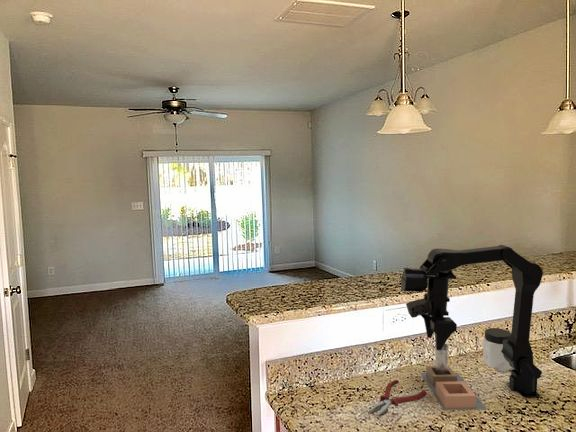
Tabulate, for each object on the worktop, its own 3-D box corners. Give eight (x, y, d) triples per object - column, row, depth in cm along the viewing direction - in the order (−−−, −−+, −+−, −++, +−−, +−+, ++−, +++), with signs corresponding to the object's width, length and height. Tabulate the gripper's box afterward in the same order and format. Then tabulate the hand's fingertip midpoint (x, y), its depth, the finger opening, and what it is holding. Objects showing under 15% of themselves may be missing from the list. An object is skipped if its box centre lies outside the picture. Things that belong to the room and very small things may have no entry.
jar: (478, 361, 152) (479, 327, 151) (501, 360, 153) (502, 326, 152) (492, 373, 143) (493, 337, 142) (516, 371, 144) (517, 336, 143)
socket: (464, 392, 129) (464, 381, 129) (476, 408, 121) (476, 396, 121) (435, 393, 130) (435, 381, 129) (445, 408, 121) (445, 396, 121)
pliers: (355, 410, 124) (355, 401, 124) (394, 385, 138) (395, 377, 138) (390, 427, 116) (390, 417, 116) (428, 398, 130) (428, 390, 129)
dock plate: (457, 375, 142) (457, 363, 142) (487, 413, 120) (487, 399, 120) (420, 376, 142) (420, 364, 142) (443, 413, 121) (443, 399, 120)
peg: (444, 377, 139) (445, 342, 138) (448, 382, 135) (449, 347, 134) (433, 377, 139) (433, 342, 138) (437, 383, 136) (437, 347, 134)
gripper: (402, 283, 138) (399, 330, 140) (418, 300, 120) (414, 355, 121) (438, 284, 138) (434, 332, 140) (459, 302, 119) (455, 357, 121)
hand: (433, 343), depth 130 cm, fingers open, 9 cm apart
